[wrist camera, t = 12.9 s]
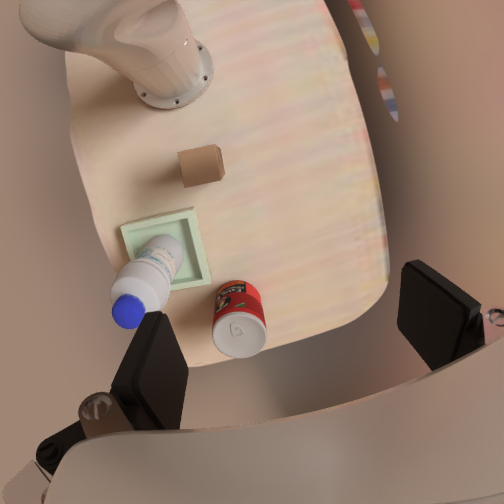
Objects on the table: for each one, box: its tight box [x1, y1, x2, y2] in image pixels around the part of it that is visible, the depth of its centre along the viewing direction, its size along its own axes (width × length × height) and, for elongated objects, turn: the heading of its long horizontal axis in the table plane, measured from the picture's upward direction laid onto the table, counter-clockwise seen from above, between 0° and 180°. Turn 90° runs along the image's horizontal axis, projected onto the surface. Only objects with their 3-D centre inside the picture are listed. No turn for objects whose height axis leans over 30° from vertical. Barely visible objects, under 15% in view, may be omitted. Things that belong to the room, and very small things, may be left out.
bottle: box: [110, 234, 184, 329], centre depth 33 cm, size 7×7×20 cm
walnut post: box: [178, 144, 225, 188], centre depth 34 cm, size 4×4×12 cm
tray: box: [120, 207, 212, 291], centre depth 42 cm, size 12×12×2 cm
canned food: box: [212, 280, 267, 358], centre depth 42 cm, size 8×8×11 cm
